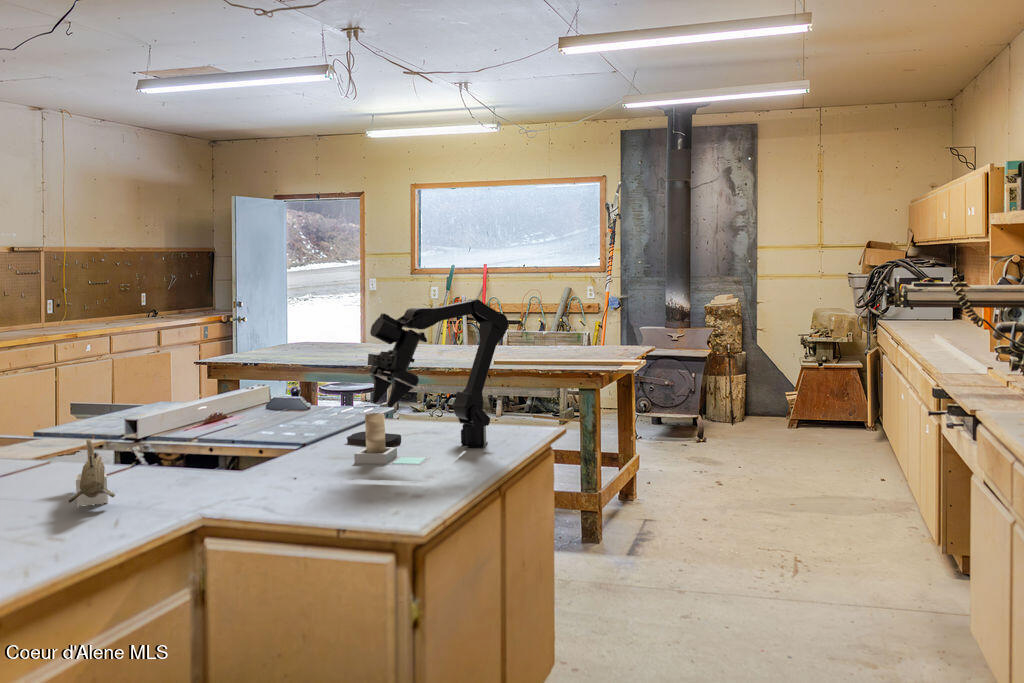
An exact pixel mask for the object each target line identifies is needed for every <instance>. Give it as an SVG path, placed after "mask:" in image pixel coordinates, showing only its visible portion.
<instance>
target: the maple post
mask: <svg viewBox="0 0 1024 683" xmlns="http://www.w3.org/2000/svg"><path fill="white" fill-rule="evenodd" d="M364 420H365V422H364V424H365V425H364V426H365V431H366V446H365V447H366V453H385V452H386V449H385V433H386V427H385V426H386V425H385V423H386V422H385V420H386V419H385V414H384V413H382V412H379V413H378V412H376V413H375V412H373V413H367V414H365V415H364Z"/></svg>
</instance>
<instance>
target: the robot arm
mask: <svg viewBox="0 0 1024 683" xmlns="http://www.w3.org/2000/svg"><path fill="white" fill-rule="evenodd" d="M468 315H470V316H471V317H472V319H473V320H474V321H475V322H476V323H478V324H479V326H478V335H479V343H478V346H477V349H476V353H475V356H474V360H473V364H472V367H471V370H470V374H469V377H468V380H467V383H466V385H465V388H464V390H463V391H456V394H455V399H454V400H453V401H454V402H453V403H452V406H453V413H454V415H455V416H456V417H457V419H458V421H459V423H460V424H462V429H461V430H460V445H461V447H467V448H484V447H485V446H487V445H488V443H489V441H487V426H489V424H490V422H491V417H490V416H489V415H488V414H487V413H486V412H485V411H484V403H485V401H484V396H483V390H484V387H485V385H486V380H487V377H488V374H489V370H490V367H491V364H492V361H493V360H492V359H493V357H494V354H495V351H496V348H497V345H498V344H499V342H500V341H501V340H502V339H503V338H504V336H505V334H506V332H507V330H508V327H509V324H510V322H509V320H508V317H507V316H506V315H505V314H504V313H501V312H500V313H499V312H498V311H497V310H495V308H492V307H490V306H488V305H487V304H485V303H484V302H483V301H481V300H480V299H476V298H475V299H473V298H469V299H468V300H465V301H459V302H455V303H450V304H445V305H441V306H435V307H411V308H408V309H406V310H405V312H404V313H403V315H401V316H400V317H398V318H397V319H395V318H393V317H391V316H390V315H389V314H387V313H380V316H379V317H378V318H376V320H375V321H374V323H372V325H371V328H370V332H369V333H370V336H372V337H373V338H375V339H377V340H380V341H382V342H383V343H386V344H388V345H392V344H393V343H394V346H393V348H392V349H389V350H388V351H380V353H368V355H367V366H370V368H369V371H368V373H369V374H370V378H372V381H373V393H372V403H374V404H377V403H378V402H379V401H380V400H381V398H382V397H383V396H384V394H385V393H386V392H387V391H388V389H389V388H390V387H392V388H391V391H390V394H389V397H388V402H387V405H386V406H387V407H388V408H392V407H394V405H395V404H396V403H397V402H398V401H399V400H401V399H402V398H403V397H404V396H405V395H407V394H408V393H410V391H411V390H414V387H416V388H417V386H418V384H419V381H420V378H419V376H418V375H417V374H414V373H412V372H411V371H408V369H409V367H410V364H411V363H412V364H414V363H415V361H416V359H415V358H413V357H414V354H415V352H416V350H417V348H418V345H419V343H428V339H427V337H426V335H425V332H423V331H419V332H417V331H414V330H426V329H428V328H431V327H432V326H435V325H436V324H438V323H439V322H441V321H446V320H450V319H454V318H455V319H456V318H460V317H464V316H468ZM403 328H404V329H403ZM406 329H408V330H406ZM391 385H392V386H391Z"/></svg>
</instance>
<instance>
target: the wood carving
mask: <svg viewBox="0 0 1024 683" xmlns="http://www.w3.org/2000/svg"><path fill="white" fill-rule="evenodd" d="M85 440H86V441H85V442H86V452H87V461H86V462H85V463H84V464H83V466H82V469H81V470H82V471H81V473H80V474H75V489H76V494H75V495H73V496H72V497H71V498H69V499H68V502H69V503H72V502H74V501H75V500H76V506H83V505H93V504H101V505H104V504H103V503H108V504H109V498H108V497H111V498H115V496H116V494H115V493H114V491H110V490H108V479H107V478H108V476H107V471H105V469H106V467H105V464H104V462H103V461H102V456H99V453H98V452H95V447H94V444H93V442H92V439H90V438H86V439H85ZM93 506H94V505H93Z"/></svg>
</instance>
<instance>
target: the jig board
mask: <svg viewBox="0 0 1024 683" xmlns="http://www.w3.org/2000/svg"><path fill="white" fill-rule="evenodd" d="M385 449H386V452H385V453H366V446H364V448H362V449H360V450H357V452H356V451H355V453H354V454H353V458H354V463H353V464H354V465H391V466H393V465H395V466H422V465H423V464H425V463H426V462H427V461H428V460H430V459H431V456H398V447H395V446H392V447H385Z"/></svg>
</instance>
